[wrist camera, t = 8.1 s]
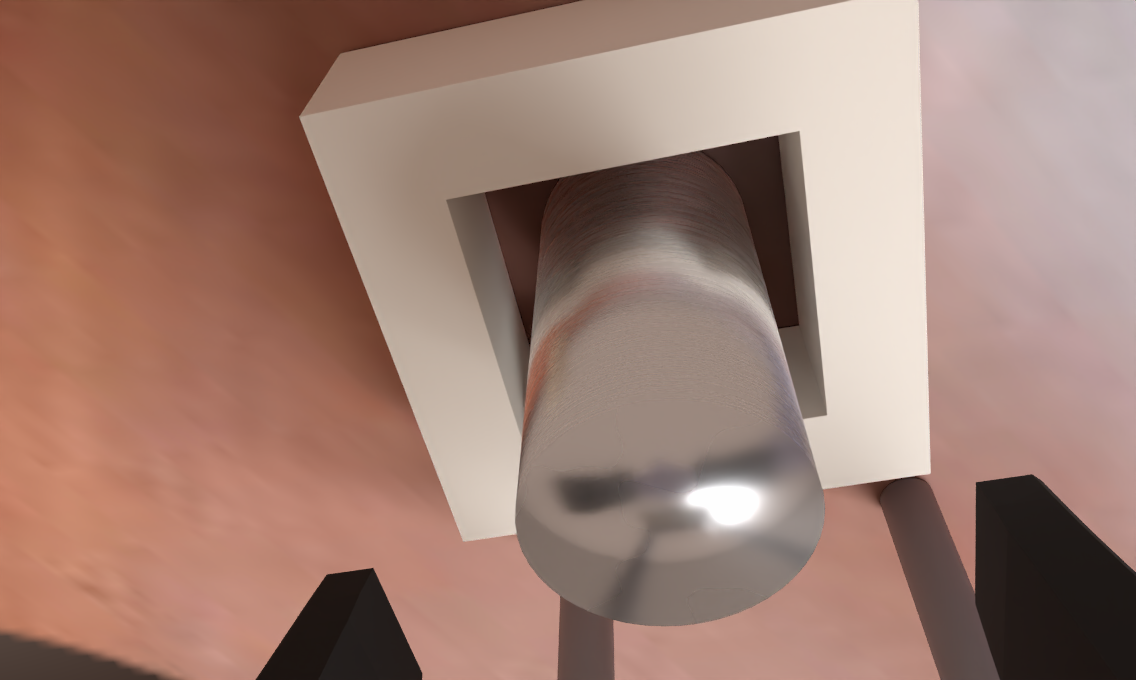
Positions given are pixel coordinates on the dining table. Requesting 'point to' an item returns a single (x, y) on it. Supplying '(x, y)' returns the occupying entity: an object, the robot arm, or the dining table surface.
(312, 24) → the dining table surface
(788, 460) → the peg
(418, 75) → the socket block
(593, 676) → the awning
